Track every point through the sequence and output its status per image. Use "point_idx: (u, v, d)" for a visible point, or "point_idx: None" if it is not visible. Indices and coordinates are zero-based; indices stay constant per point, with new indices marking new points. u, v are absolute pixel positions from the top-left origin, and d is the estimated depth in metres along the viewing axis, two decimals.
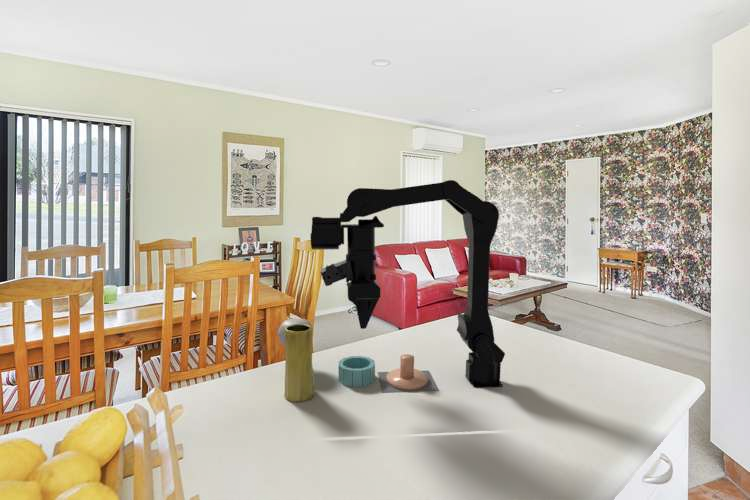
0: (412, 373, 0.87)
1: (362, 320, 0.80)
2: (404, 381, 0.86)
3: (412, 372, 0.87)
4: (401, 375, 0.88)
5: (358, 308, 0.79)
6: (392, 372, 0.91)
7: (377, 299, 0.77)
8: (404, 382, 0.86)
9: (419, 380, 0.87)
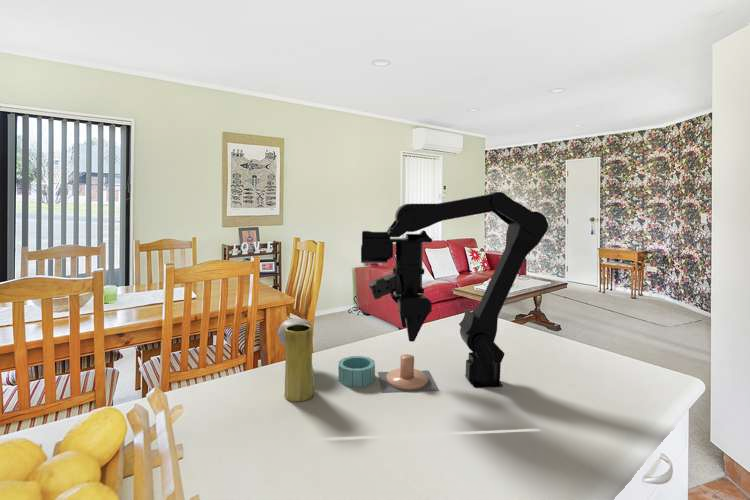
0: (412, 373, 0.87)
1: (411, 333, 0.82)
2: (404, 381, 0.86)
3: (412, 372, 0.87)
4: (401, 375, 0.88)
5: (408, 322, 0.81)
6: (392, 372, 0.91)
7: (428, 313, 0.79)
8: (404, 382, 0.86)
9: (419, 380, 0.87)
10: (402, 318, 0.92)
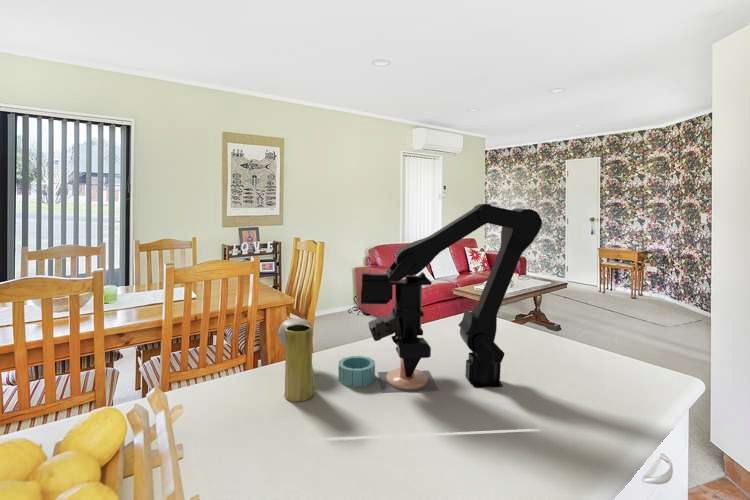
0: None
1: (408, 370, 0.86)
2: (404, 381, 0.86)
3: None
4: (401, 375, 0.88)
5: (405, 359, 0.85)
6: (392, 372, 0.91)
7: None
8: (404, 382, 0.86)
9: (419, 380, 0.87)
10: None
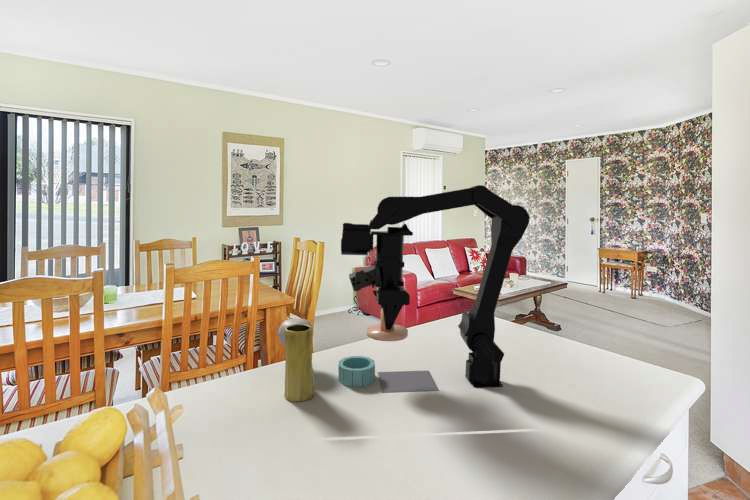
0: (392, 326, 0.86)
1: (388, 321, 0.85)
2: (384, 333, 0.85)
3: None
4: (381, 328, 0.87)
5: (385, 310, 0.84)
6: (373, 326, 0.90)
7: None
8: (384, 334, 0.85)
9: (399, 332, 0.86)
10: None
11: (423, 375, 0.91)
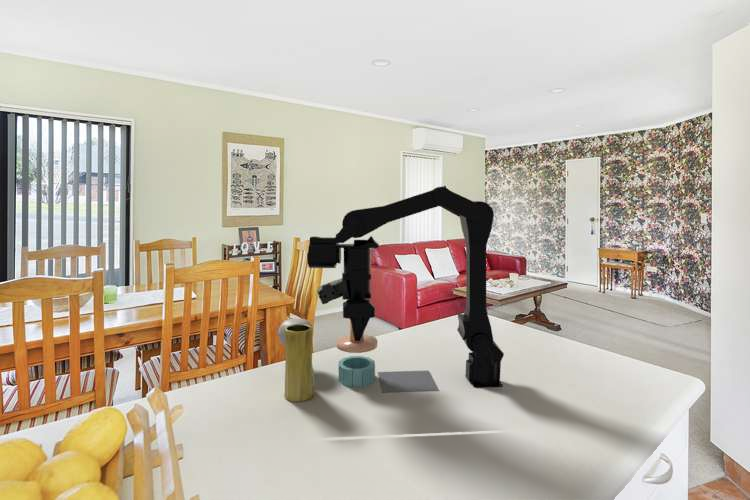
0: (361, 337, 0.87)
1: (356, 333, 0.86)
2: (352, 344, 0.86)
3: None
4: (350, 339, 0.88)
5: (352, 322, 0.85)
6: (343, 337, 0.91)
7: None
8: (353, 345, 0.86)
9: (368, 344, 0.87)
10: None
11: (423, 375, 0.91)
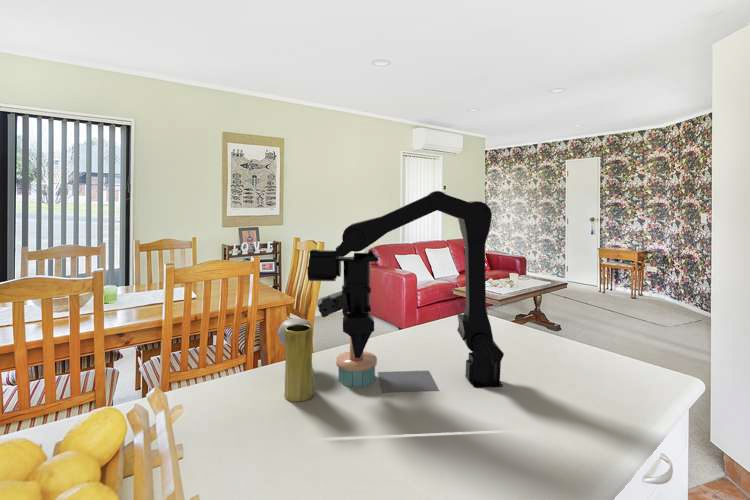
0: (361, 355, 0.88)
1: (356, 350, 0.84)
2: (352, 363, 0.87)
3: None
4: (350, 357, 0.88)
5: (353, 339, 0.83)
6: (343, 354, 0.91)
7: (371, 331, 0.81)
8: (352, 363, 0.86)
9: (367, 362, 0.87)
10: None
11: (423, 375, 0.91)
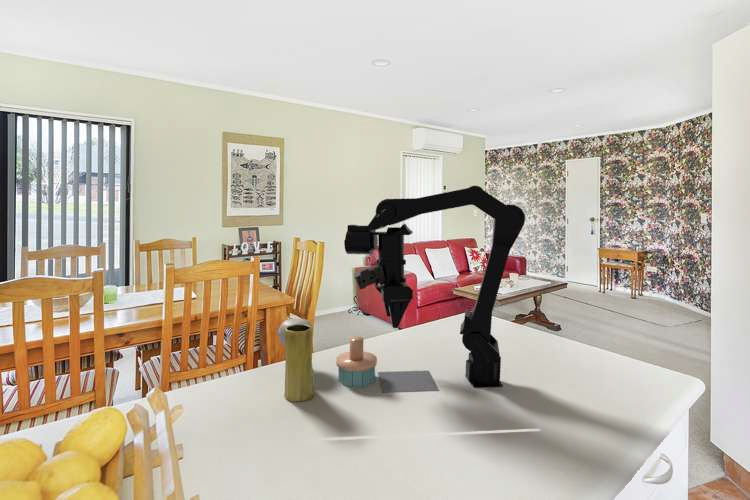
0: (361, 355, 0.88)
1: (395, 320, 0.87)
2: (352, 363, 0.87)
3: (361, 354, 0.88)
4: (350, 357, 0.88)
5: (391, 309, 0.86)
6: (343, 354, 0.91)
7: (409, 300, 0.84)
8: (352, 363, 0.86)
9: (367, 362, 0.87)
10: (386, 307, 0.97)
11: (423, 375, 0.91)
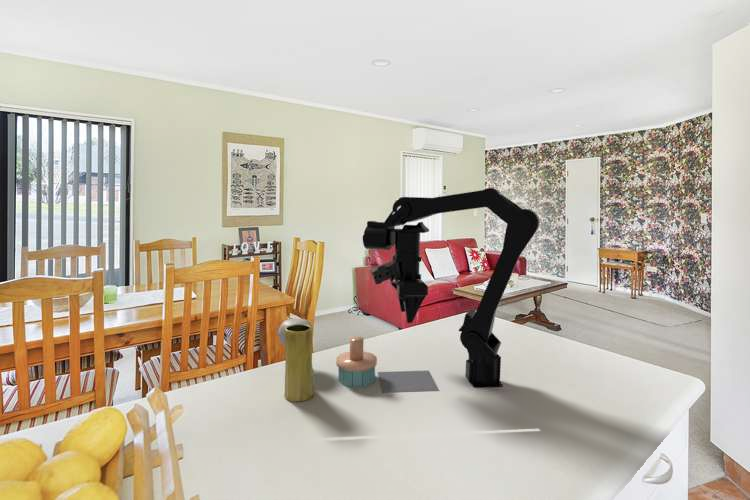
0: (361, 355, 0.88)
1: (409, 315, 0.90)
2: (352, 363, 0.87)
3: (361, 354, 0.88)
4: (350, 357, 0.88)
5: (406, 304, 0.88)
6: (343, 354, 0.91)
7: (424, 296, 0.87)
8: (352, 363, 0.86)
9: (367, 362, 0.87)
10: (401, 303, 0.99)
11: (423, 375, 0.91)
